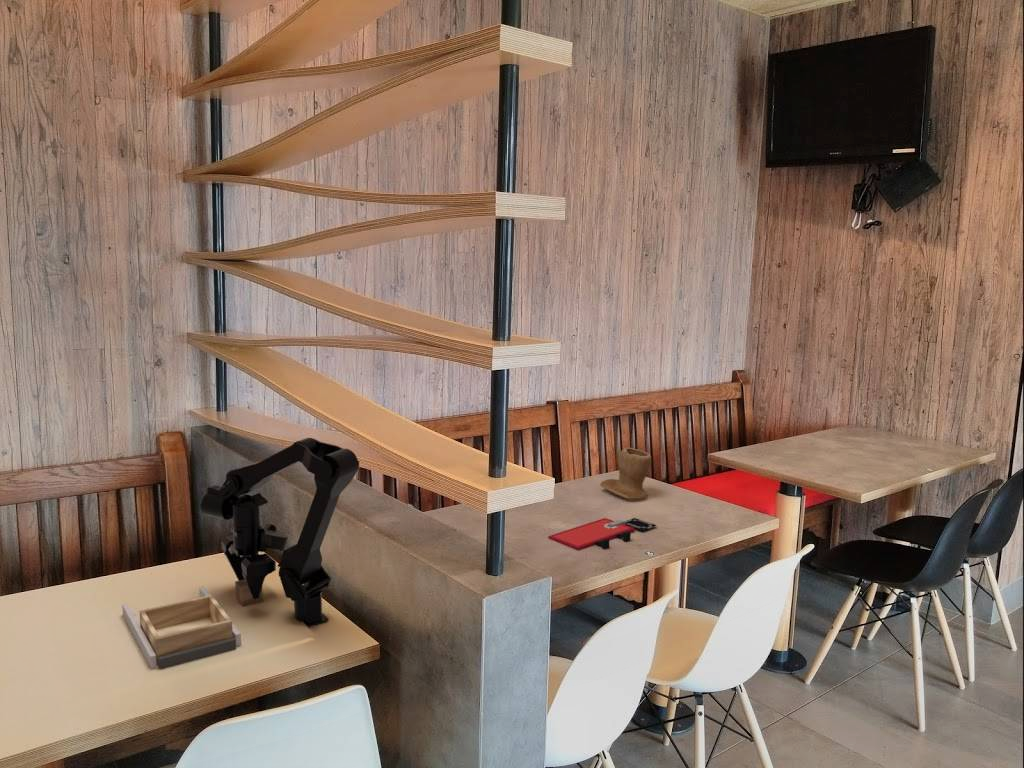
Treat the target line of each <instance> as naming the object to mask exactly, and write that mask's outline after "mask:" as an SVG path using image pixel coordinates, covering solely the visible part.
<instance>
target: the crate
mask: <svg viewBox="0 0 1024 768" xmlns="http://www.w3.org/2000/svg"><path fill="white" fill-rule="evenodd" d="M232 623H233V621H232V619H231V618H230V617H229V615H228V614H227V612H225V610H224V609H223V608H222V606H221V605H220V603H218V601H217V600H216V598H215V597H214V596H213V595H212V594H210V595H208V596H204V597H200V596H199V597H196V598H192V599H187V600H182V601H178V602H173V603H168V604H165V605H160V606H156V607H152V608H147V609H143V610H139V625H140V627H141V629H142V631H143V632H144V634H145V636H146V638H147V640H148V642H149V643H150V645H151V647H152V649H153V651H154V652H155V654H156V663H157V665H158V657H161V656H165V655H169V654H173V653H177V652H181V651H184V650H188V649H192V648H196V647H200V646H204V645H208V644H212V643H216V642H219V641H223V640H227V639H231V638H233V632H232Z"/></svg>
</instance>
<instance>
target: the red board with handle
mask: <svg viewBox="0 0 1024 768" xmlns="http://www.w3.org/2000/svg"><path fill="white" fill-rule="evenodd" d="M657 526H658V524H655V523H651V522H649V521H645V520H643V519H639V518H636V517H632V518H631V519H626V520H621V519H618V520H612V519H609V518H606V517H603V518H601V519H597V520H595V521H592V522H588V523H585V524H582V525H580V526H576V527H573V528H570V529H566V530H563V531H559V532H558V533H554V534H552V535H548V536H547V538H548V539H549V540H551V541H554V542H556V543H558V544H560V545H563V546H566V547H568V548H571V549H573V550H575V551H582V550H584V549H587V548H589V547H593V546H601V550H602V549H603V550H607V549H610V541H611V540H614V539H622V542H623V543H628V542H631V534H632V533H634V532H635V531H636V530H639V531H645V530H648V529H652V528H654V527H657Z"/></svg>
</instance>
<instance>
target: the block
mask: <svg viewBox="0 0 1024 768" xmlns="http://www.w3.org/2000/svg"><path fill="white" fill-rule="evenodd" d="M234 585H235V589H234V590H235V599H236V601H237V602H238V604H240V606H241V607H245V606H250V605H254V604H259V603H263V601H264V598H263V595H264V594H263V588H262V589H261V592H260V596H259V598H258V599H253V597H252V595H251V592H250V590H249V588H248V586H247V583H246V581H245V580H240V581H238V580H236V581H234Z"/></svg>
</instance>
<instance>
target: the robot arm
mask: <svg viewBox="0 0 1024 768" xmlns="http://www.w3.org/2000/svg"><path fill="white" fill-rule="evenodd" d="M298 463H301V464H302V465H303V467H304V468H305V469H306V470H307V472H309V473H311V474H313V480H314V484H315V487H316V489H315V493H314V495H313V498H312V501H311V504H310V506H309V510H308V512H307V515H306V518H305V520H304V522H303V526H302V529H301V532H300V534H299V538H298V540H297V543H296V544H294V545H292V546H290V547H288V548H286V545H287V544H288V543H287V542H288V539H289V536H288V535H286V534H285V533H284V532H282V531H280V530H279V529H278V530H277V526H276V525H275V524H273V523H269V522H267V523H266V524H265V526H264V527H263V526H262V525H261V507H262V506H264V505H266V504H268V503H269V501H268V499H267V498H266V497H264V496H263V495H262V493H260V492H258V493H256V494H253V495H251V494H249V493H251V492H254V491H256V490H259V489H261V488H262V487H264V486H265V485H266V484H267V483H268V482H270V481H271V478H273V476H275V475H277V474H278V473H279V474H280V473H281V472H282V471H284V470H286V469H288V468H291V467H294V466H295V465H297V464H298ZM359 468H360V460H358V457H357V455H356V454H355V452H353V450H351V449H349V448H342V447H341V446H338V445H335V444H331V443H327V442H323V441H320V440H318V439H316V438H313V437H306V438H302V439H300V440H298V441H297V440H296V441H294V442H293V443H292V444H291V445H289V446H287V447H285V448H284V449H282V450H279V451H278V452H276V453H274V454H272V455H270V456H268V457H266V458H264V459H262V460H261V461H256V462H253V463H248V464H246V465H242V466H240V467H237V468H234V469H231V470H229V471H227V472H226V474H225V477H226V478H225V481H224V482H223V484H222V486H219V485H216V484H213V485H210V486H208V487H207V490H206V491H207V492H206V493H205V494H204V495H203V498H202V500H201V502H200V510H201V512H202V514H203V515H204V516H207V517H213V518H217V519H221V520H225V521H227V520H228V521H230V520H231V519H232V525H231V526H229V530H230V532H231V533H232V535H228V536H224V537H223V539H222V540H221V541H220V542H221V544H220V545H221V550H222V551H223V554H224V556H225V558H226V560H227V561H228V563H229V565H230V567H231V569H232V571H233V572H234V575H235V577H236V578H237V581H240V580H245V581H246V583H247V586H248V588H249V590H250V592H251V595H252V597H253V599H258V598H259V596H260V592H261V589H262V590H263V585H264V582H265V579H266V577H267V576H268V575H269V574H272V573H274V572H275V571H277V567H278V577H279V579H280V582H281V586H282V589H283V592H284V596H285V597H286V598H287V599H290V600H291V601H293V612H294V614H293V617H294V619H295V620H296V621H297V622H303V624H304V625H305V626H306V627H311V626H315V625H318V624H322V623H326V622H328V621H329V617H327V615H326V614H325V613H324V612H323V597H322V596H323V593H322V591H323V590H325V589H326V588H329V587H330V584H331V582H332V578H331V576H330V575H329V574H328V572H326V570H325V569H324V567H323V566H322V562H323V556H322V552H321V547H322V544H323V541H324V538H325V536H326V534H327V531H328V527H329V525H330V522H331V521H332V517H333V514H334V512H335V509H336V506H337V503H338V501H339V498H340V495H341V494H342V492H343V491H344V490H345V489H346V488H347V486H349V484H351V482H352V481H353V479H354V477H355V475H356V474H357V472H358V470H359ZM267 549H269V550H271V549H272V550H278V551H279V552H282V554H281V559H280V562H279V563H278V564H277V563H276V560H275V559H273V558H272V557H271V556H270V555H269V554H268V553H266V552H267ZM260 552H261V554H259V553H260ZM264 552H265V553H264ZM276 564H277V565H276Z"/></svg>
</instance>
